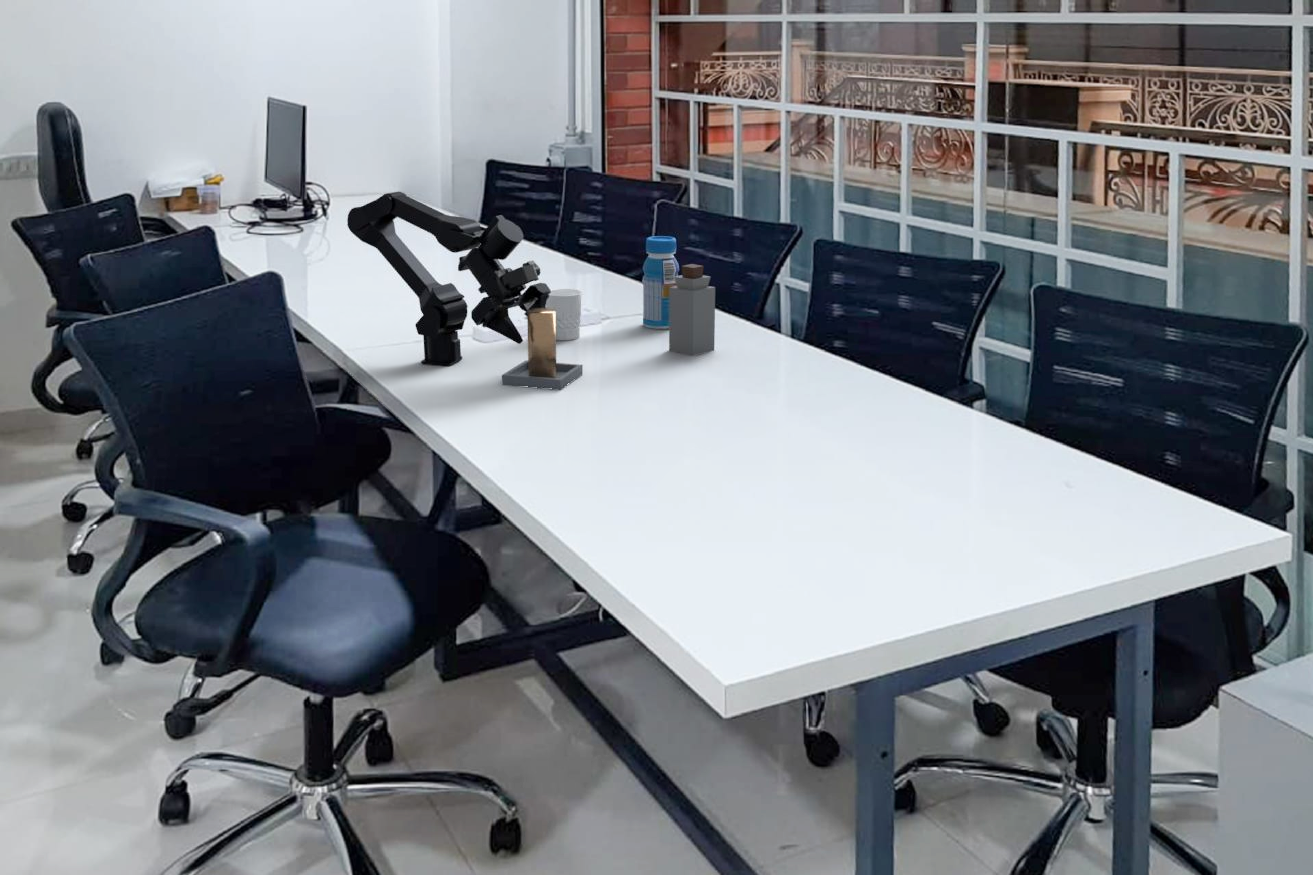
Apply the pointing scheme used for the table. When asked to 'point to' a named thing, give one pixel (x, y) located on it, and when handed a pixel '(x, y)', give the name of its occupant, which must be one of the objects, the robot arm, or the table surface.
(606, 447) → the table surface
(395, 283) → the table surface
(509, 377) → the tray
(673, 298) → the perfume bottle
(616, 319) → the table surface
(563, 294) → the white cup
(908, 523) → the table surface
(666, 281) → the beverage bottle
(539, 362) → the can
